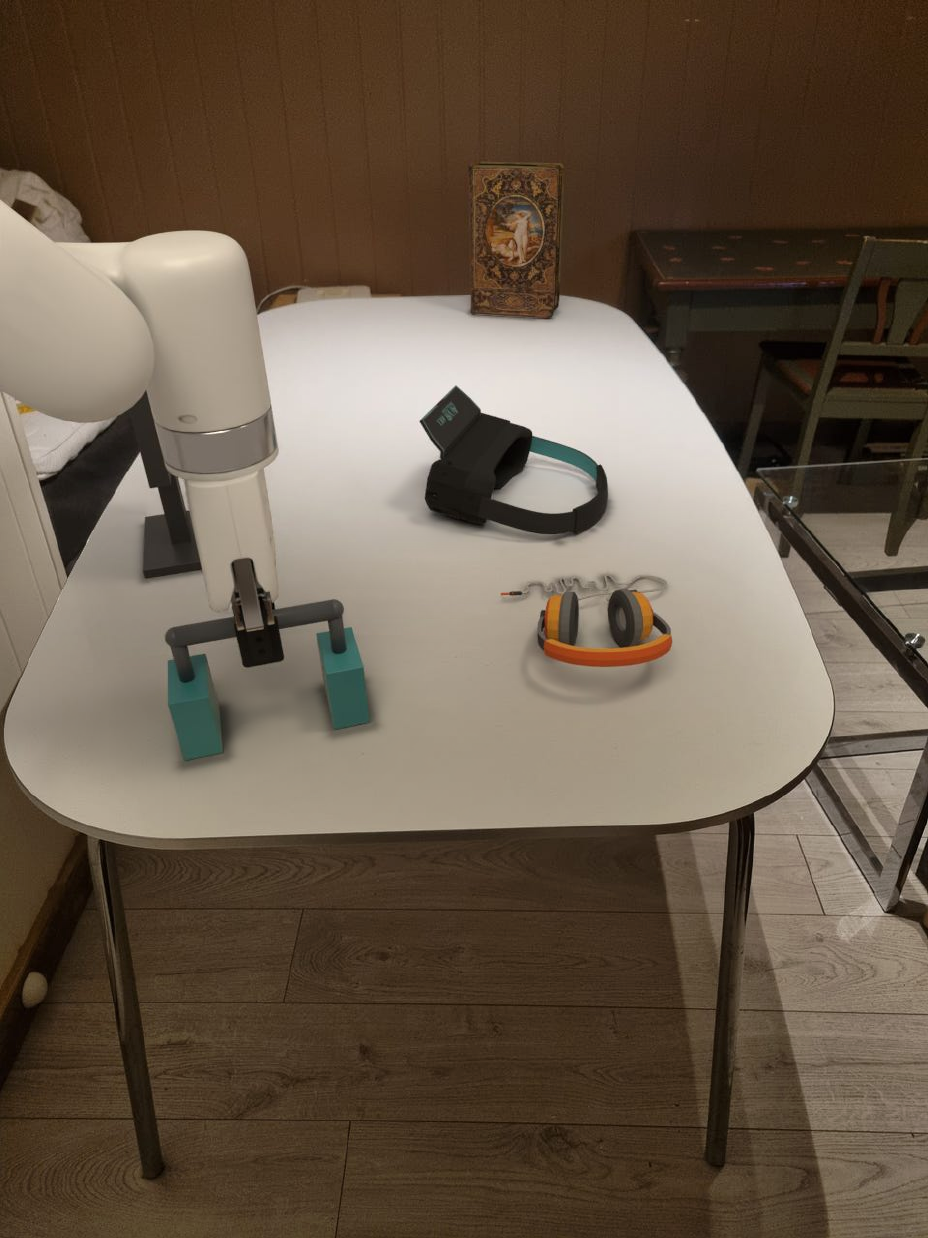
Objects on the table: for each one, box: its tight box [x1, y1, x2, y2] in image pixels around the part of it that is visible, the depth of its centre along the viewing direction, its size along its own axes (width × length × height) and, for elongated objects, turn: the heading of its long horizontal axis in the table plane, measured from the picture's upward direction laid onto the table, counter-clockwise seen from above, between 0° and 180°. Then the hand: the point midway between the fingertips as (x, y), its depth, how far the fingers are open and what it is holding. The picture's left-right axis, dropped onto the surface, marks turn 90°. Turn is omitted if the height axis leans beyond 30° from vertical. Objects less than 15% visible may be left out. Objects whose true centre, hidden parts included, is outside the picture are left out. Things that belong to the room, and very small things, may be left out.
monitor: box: [128, 391, 202, 579], centre depth 88 cm, size 8×16×24 cm, turn 16°
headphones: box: [500, 574, 673, 668], centre depth 79 cm, size 17×5×20 cm
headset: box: [164, 598, 371, 761], centre depth 69 cm, size 15×6×11 cm, turn 106°
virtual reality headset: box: [418, 385, 609, 536], centre depth 99 cm, size 19×22×10 cm
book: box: [467, 161, 565, 319], centre depth 155 cm, size 16×6×25 cm, turn 74°
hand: (262, 652), depth 68 cm, fingers closed on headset
